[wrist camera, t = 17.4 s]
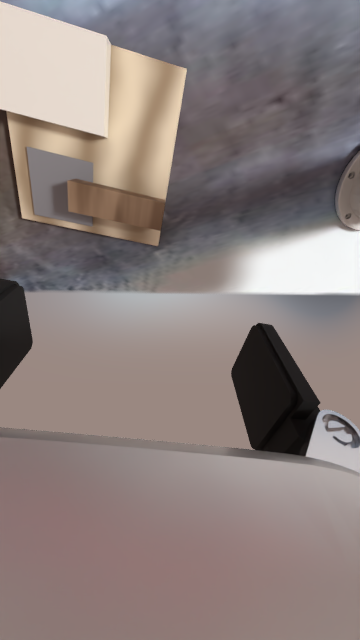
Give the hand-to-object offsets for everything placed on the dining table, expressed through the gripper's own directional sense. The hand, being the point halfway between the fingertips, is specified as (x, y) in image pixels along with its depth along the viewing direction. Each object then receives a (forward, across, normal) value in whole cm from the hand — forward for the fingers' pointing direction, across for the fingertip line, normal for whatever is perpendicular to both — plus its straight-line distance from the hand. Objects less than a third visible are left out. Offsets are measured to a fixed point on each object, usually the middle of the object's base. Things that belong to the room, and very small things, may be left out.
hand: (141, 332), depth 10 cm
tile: (+28, +8, -11) cm, 31 cm away
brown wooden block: (+27, +12, 0) cm, 29 cm away
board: (+30, +10, -5) cm, 32 cm away
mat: (+29, +14, 0) cm, 32 cm away
